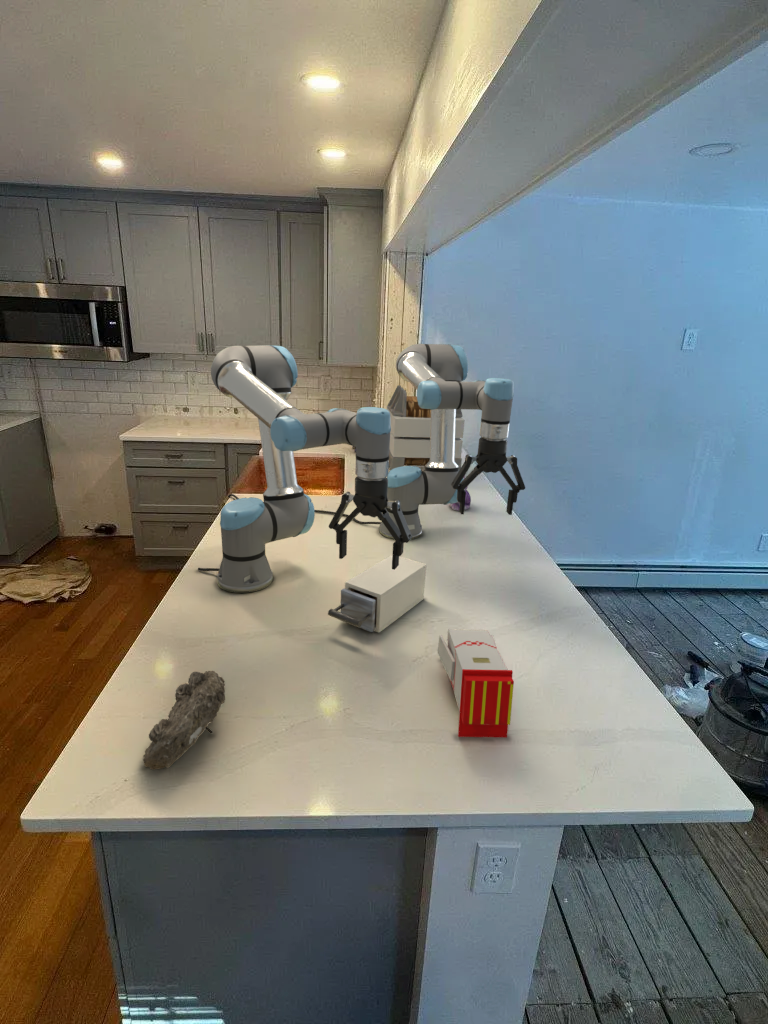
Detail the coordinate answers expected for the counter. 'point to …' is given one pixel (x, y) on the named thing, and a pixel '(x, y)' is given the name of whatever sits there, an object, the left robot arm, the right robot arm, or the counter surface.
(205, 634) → the counter surface
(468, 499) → the figurine
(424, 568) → the cabinet
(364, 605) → the drawer
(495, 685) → the white and red box
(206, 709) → the fossil
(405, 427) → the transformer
